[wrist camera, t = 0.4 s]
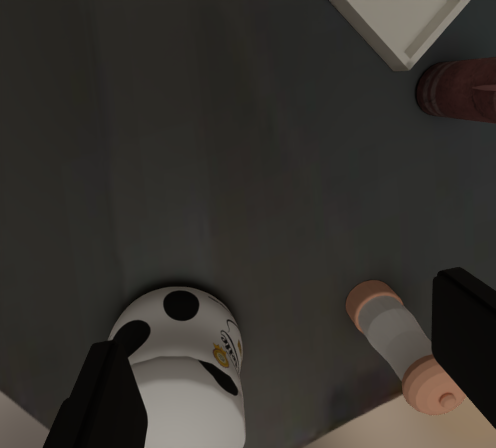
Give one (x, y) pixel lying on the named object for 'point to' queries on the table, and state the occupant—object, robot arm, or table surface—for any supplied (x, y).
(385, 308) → the pepper shaker
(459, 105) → the can
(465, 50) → the table surface
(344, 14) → the divided tray
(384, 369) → the table surface
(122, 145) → the table surface
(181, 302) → the milk container
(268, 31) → the table surface
